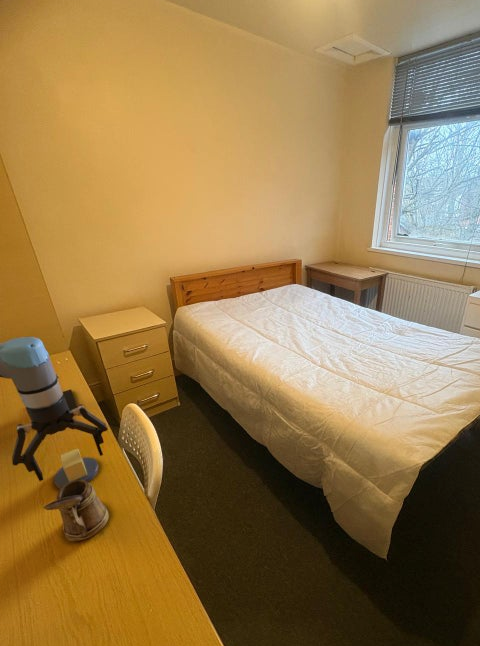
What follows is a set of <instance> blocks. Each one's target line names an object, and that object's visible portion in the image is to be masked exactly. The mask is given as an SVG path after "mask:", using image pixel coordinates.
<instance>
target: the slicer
mask: <svg viewBox="0 0 480 646" xmlns="http://www.w3.org/2000/svg"><path fill="white" fill-rule="evenodd" d="M55 374H56V377H57V380H58V382H59V374H57V373H55ZM59 383H60V382H59ZM60 387H61V390H62V392H63V395H64V397H65V400H66V402H67V405H68V407H69V408H70V409H71V410H73V409H75V408H78V404H77V402H76V399H75V395H74V392H73V390H72V389H68V390H64V391H63V389H62V386H61V385H60Z"/></svg>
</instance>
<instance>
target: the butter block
mask: <svg viewBox="0 0 480 646" xmlns="http://www.w3.org/2000/svg"><path fill="white" fill-rule="evenodd" d="M82 458H83V457H82V456H81V453H80V451H79V448H75V449H72V450H69V451H68V452H65V453H63V454H60V460H61V464H62V467H63V469H64V471H65V473H66V476H67V478H68V480H69V482H71V481H74V480H77V479H79V478H81V477H83V476H86V475H87V472H86V469H85V466H84V462H83V460H82Z"/></svg>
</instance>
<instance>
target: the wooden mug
mask: <svg viewBox="0 0 480 646" xmlns="http://www.w3.org/2000/svg"><path fill="white" fill-rule="evenodd" d="M43 509H44V510H46V511H55V510H58V511H59V513H60V516H61V517H60V518H61V520H62V524H63V525H62V530H63V533H64V537H65V538H66V539H67V540H68V541H70V542H79V541H83V540H86V539H90V538H92V537H93V536H95V535H96V534H98V533H99V532H101V530H102V529H103V528H105V526H106V524H107V523H108V521H109V518H110V517H109V516H110V515H109V511H108V509H107V507H106V506H105V504H104V503H102V501H101V500H100V498H99V497H98V495H97V494H96V490H95V488H94V487H93V486H92V484H91V483H89V482H87V481H86V480H82V479H78V480H74V481H71V482H69V483H67V484H65V485H64V486H63V487H62V488H61V489H59V490H58V492H57V495H56V500H54V501H51V502H50V503H48V504H46V505H44V506H43Z"/></svg>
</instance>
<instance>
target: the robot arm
mask: <svg viewBox="0 0 480 646" xmlns="http://www.w3.org/2000/svg"><path fill="white" fill-rule="evenodd" d="M56 374H57V373H56V372H55V369H54V366H53V364H52V361H51V358H50V353H49V352H48V350H47V349H46V347H45V345H44V342H43V341H42V340H41V339H40V338H38V337H35V336H27V337H25V336H21V337H16V338H12V339H9V340H6V341H5V342H0V378H3V379H10V380H11V381H12V383H13V385H14V386H15V388H16V391H17V393H18V396H19V397H20V400H21V401H22V404H23V406H24V407H25V410H26V412H27V415H28V416H29V418H30V421H31V422H30V423H27V424H24V423H19V424H17V425H16V433H17V437H16V441H15V445H14V448H13V452H12V456H11V464H12V466H18V465H19V464H23V465H24V467H25V468H26V470H27V472H29V473H32V472H34V473H35V475H36V477H37V479H38V481H39V482H42V481H44V474H43V471H42V469H41V467H40V465H39V464H38V461H37V459H36V458H35V453H36V452H37V450H38V448H39V447H40V445H41V444H42V442H43V441H44V440H45V438H46V437H47V435H50V436H52V435H55V434H57V433H59V432H64V431H66V429H71V430H76V431H80V432H83V433H87V434H89V435H92V439H93V440H94V444H95V446H96V449H97V451H98V454H99V456H100V457H102V456H104V453H103V450H102V448H101V445H102V444H104V442H105V440H104V438H103V435H102V434H103V433H104V432H107V431H108V430H109V427H108V426H107V423H105V422H104V421H103V420H101V419H100V418H99V417H97V416H96V415H94V414H93V413H92V412H90V411H89V410H87V409H86V407H85V405H84V403H83V404H82V403H80V404H78V405H77V407H78V408H75V409H73V410H71V409H69V407H68V405H67V402H66V400H65V397H64V395H63V392H64V391H63V389H62V386H61V384H60V382H58V381H59V379H58V378H57V377H56ZM57 379H58V380H57ZM60 386H61V387H60ZM61 389H62V390H61ZM62 391H63V392H62ZM76 415H77V416H79V417H83V418H84V419H85V420H86V421H88V422H89V423H90V424H89V423H85V422H82V421H80V420H77V419H76V418H74V416H76ZM30 430H33V431H36V432H35V435H34V436H33V438H32V439H31V442H29V444H28V446H27V447H26V449H25V451H24V452H23V449H24V445H25V442H26V435H28V434H29V433H30Z"/></svg>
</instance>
